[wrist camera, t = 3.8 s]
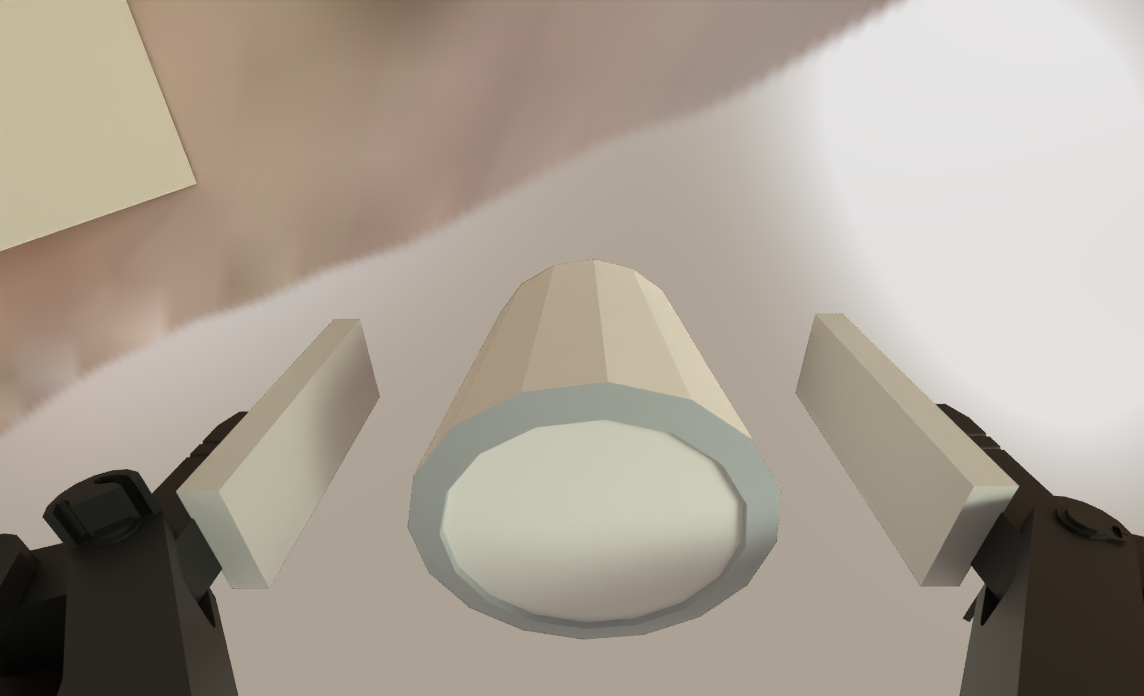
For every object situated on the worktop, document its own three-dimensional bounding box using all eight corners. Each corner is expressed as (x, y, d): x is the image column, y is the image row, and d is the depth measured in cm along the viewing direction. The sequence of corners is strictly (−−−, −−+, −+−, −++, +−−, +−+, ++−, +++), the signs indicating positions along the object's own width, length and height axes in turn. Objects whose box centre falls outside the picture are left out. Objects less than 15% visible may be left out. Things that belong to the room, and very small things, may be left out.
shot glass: (444, 391, 16) (364, 592, 10) (526, 194, 13) (479, 318, 7) (632, 460, 18) (661, 674, 12) (748, 298, 14) (871, 477, 8)
